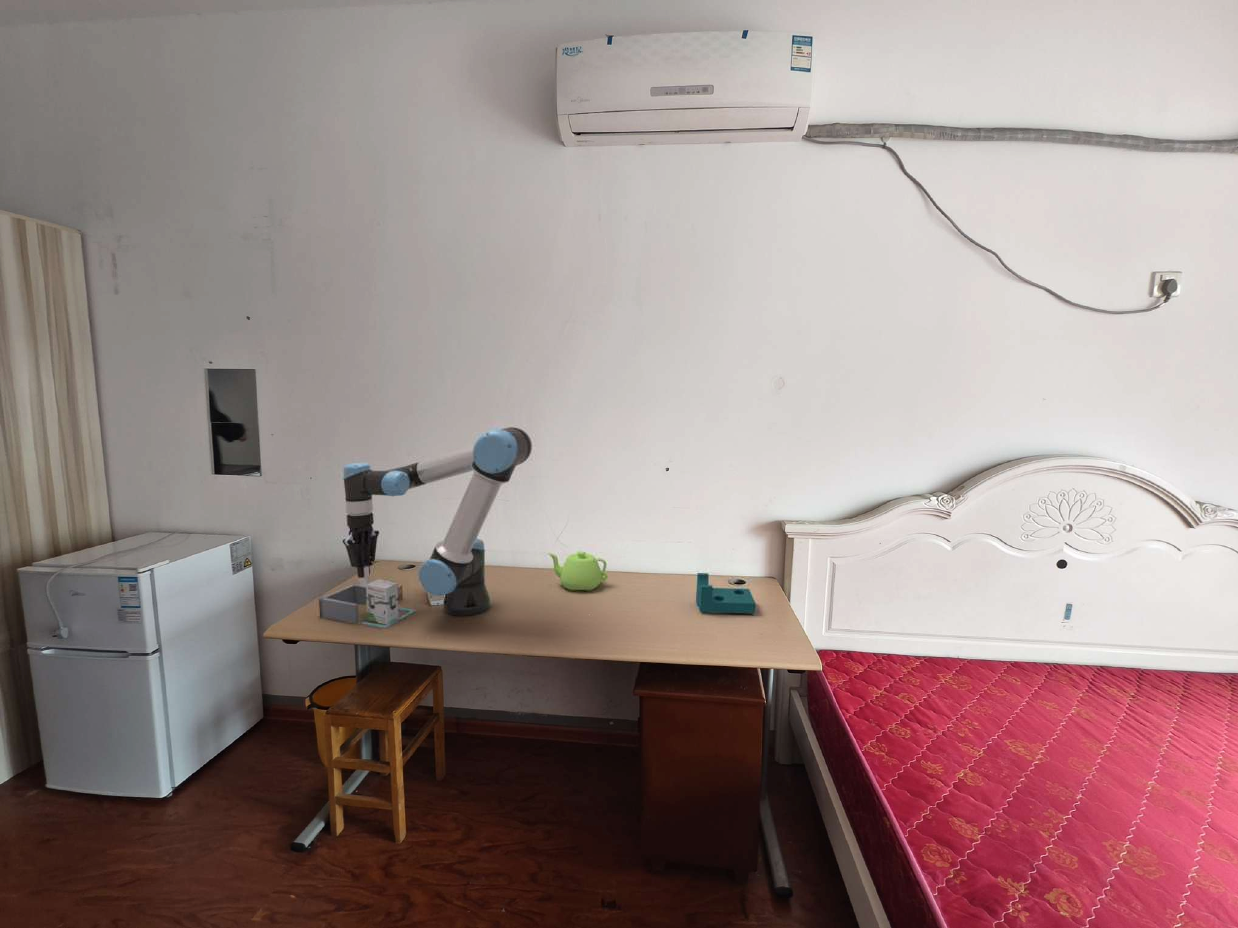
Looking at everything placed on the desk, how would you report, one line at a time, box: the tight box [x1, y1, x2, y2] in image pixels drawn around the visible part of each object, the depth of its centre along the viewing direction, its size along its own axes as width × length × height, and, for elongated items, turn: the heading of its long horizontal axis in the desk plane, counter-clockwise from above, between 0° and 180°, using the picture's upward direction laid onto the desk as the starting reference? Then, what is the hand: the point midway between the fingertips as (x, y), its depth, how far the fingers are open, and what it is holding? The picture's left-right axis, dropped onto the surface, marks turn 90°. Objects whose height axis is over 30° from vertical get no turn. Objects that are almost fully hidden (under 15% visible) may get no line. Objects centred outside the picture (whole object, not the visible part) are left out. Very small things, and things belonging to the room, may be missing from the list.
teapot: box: [547, 550, 608, 592], centre depth 209 cm, size 22×15×13 cm
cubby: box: [318, 583, 367, 625], centre depth 182 cm, size 14×14×6 cm
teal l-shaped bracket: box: [695, 572, 757, 614], centre depth 191 cm, size 18×11×10 cm, turn 90°
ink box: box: [366, 578, 399, 625], centre depth 176 cm, size 9×5×12 cm, turn 68°
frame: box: [362, 606, 417, 630], centre depth 178 cm, size 8×14×1 cm, turn 161°
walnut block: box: [397, 583, 404, 603], centre depth 192 cm, size 5×5×5 cm
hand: (364, 586), depth 180 cm, fingers closed
